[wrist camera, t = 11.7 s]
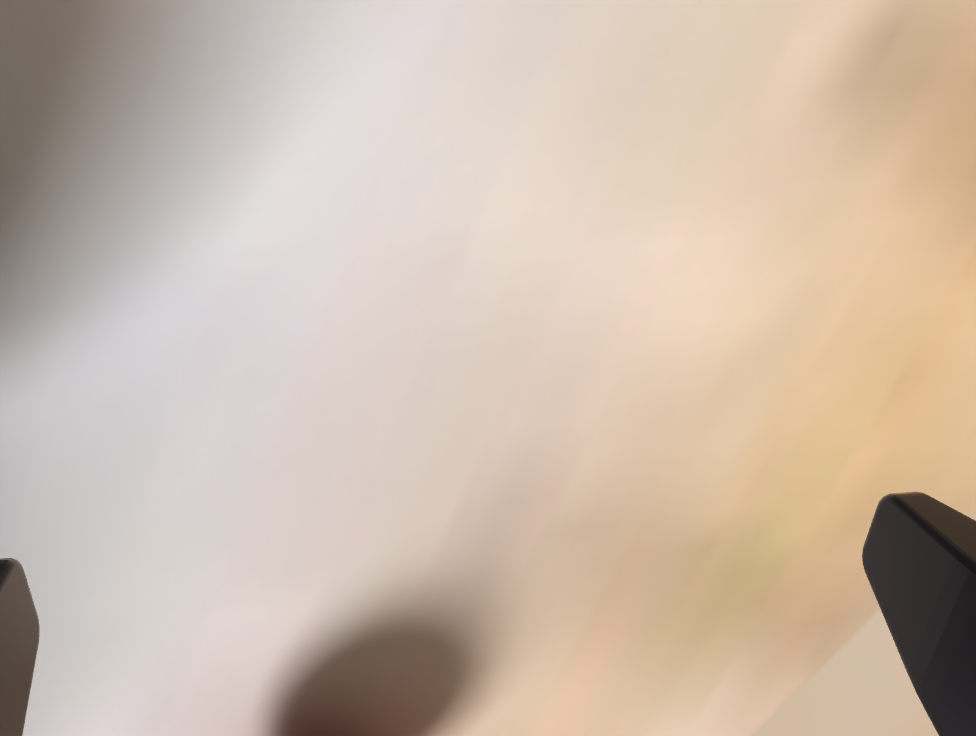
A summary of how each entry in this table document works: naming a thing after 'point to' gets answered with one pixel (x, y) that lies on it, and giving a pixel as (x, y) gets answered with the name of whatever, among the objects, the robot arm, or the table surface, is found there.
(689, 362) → the table surface
